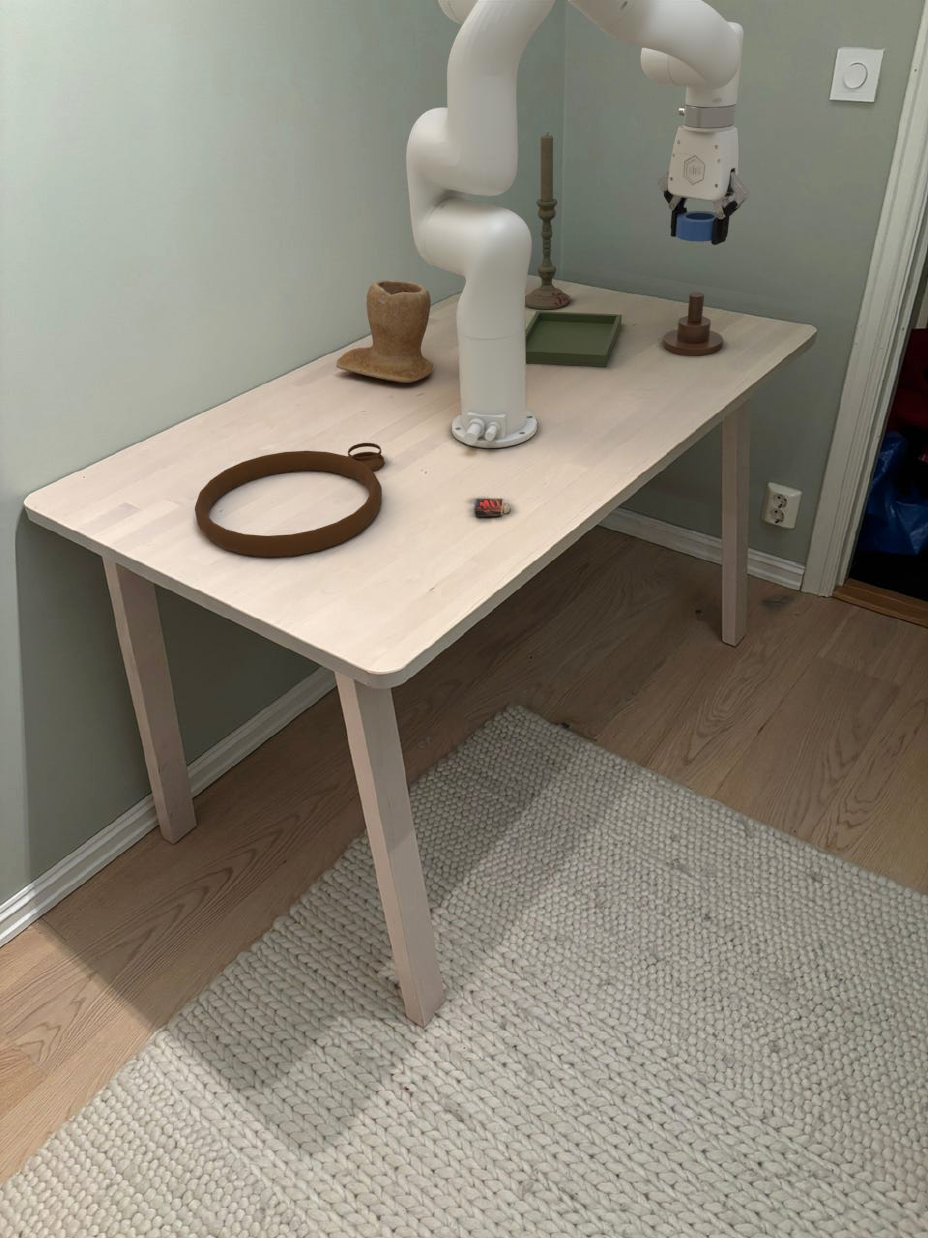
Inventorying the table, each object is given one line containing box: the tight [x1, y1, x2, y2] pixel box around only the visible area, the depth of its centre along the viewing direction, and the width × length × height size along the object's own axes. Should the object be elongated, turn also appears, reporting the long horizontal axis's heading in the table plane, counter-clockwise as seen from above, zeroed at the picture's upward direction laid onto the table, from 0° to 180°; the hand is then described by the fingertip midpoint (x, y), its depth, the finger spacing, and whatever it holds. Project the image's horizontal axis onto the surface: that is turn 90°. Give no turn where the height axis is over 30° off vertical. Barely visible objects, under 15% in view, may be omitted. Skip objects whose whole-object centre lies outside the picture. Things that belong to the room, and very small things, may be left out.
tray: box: [525, 310, 623, 368], centre depth 175 cm, size 20×16×2 cm
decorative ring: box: [194, 442, 386, 558], centre depth 133 cm, size 24×3×30 cm
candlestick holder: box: [525, 131, 571, 311], centre depth 185 cm, size 9×9×30 cm
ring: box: [675, 210, 717, 243], centre depth 161 cm, size 7×7×3 cm
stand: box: [662, 291, 724, 357], centre depth 170 cm, size 10×10×9 cm
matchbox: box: [473, 496, 511, 517], centre depth 130 cm, size 5×5×1 cm
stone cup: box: [335, 279, 435, 384], centre depth 165 cm, size 15×12×15 cm
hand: (697, 237), depth 162 cm, fingers closed on ring, 7 cm apart
